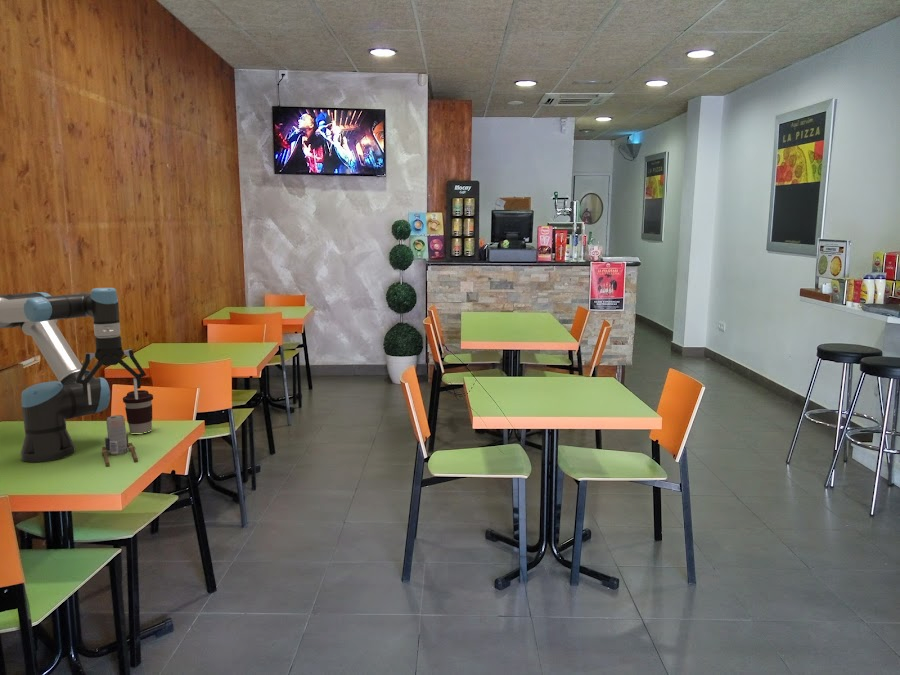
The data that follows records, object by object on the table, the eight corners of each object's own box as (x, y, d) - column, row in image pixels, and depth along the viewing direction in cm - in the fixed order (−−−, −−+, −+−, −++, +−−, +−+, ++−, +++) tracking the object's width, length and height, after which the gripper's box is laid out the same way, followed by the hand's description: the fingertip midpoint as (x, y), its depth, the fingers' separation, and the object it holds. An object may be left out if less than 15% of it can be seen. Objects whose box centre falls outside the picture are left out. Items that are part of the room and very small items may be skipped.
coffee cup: (134, 429, 257) (130, 389, 255) (160, 428, 257) (157, 388, 255) (120, 436, 247) (116, 395, 245) (148, 436, 247) (144, 394, 245)
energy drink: (120, 449, 232) (117, 414, 230) (131, 451, 229) (127, 416, 227) (106, 454, 227) (102, 418, 225) (116, 456, 224) (112, 420, 223)
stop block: (106, 450, 231) (105, 439, 230) (105, 449, 232) (104, 437, 232) (128, 447, 234) (127, 435, 233) (128, 445, 236) (127, 434, 235)
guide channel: (105, 467, 213) (104, 462, 213) (101, 450, 231) (100, 446, 231) (139, 461, 218) (138, 457, 218) (132, 445, 235) (132, 441, 235)
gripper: (63, 341, 213) (70, 408, 216) (151, 334, 225) (156, 398, 228) (63, 338, 220) (69, 403, 223) (148, 331, 232) (153, 394, 235)
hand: (113, 401), depth 226 cm, fingers open, 13 cm apart
